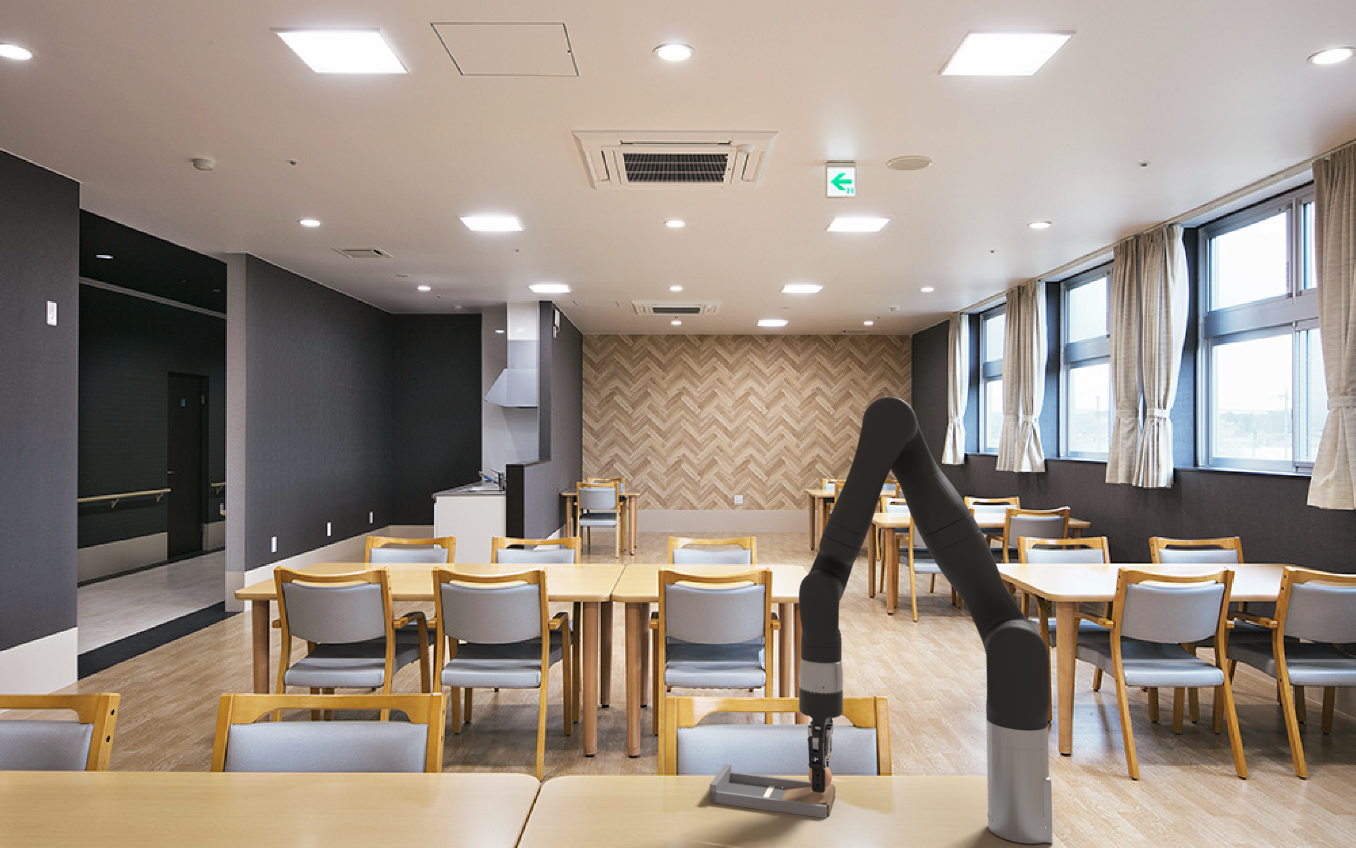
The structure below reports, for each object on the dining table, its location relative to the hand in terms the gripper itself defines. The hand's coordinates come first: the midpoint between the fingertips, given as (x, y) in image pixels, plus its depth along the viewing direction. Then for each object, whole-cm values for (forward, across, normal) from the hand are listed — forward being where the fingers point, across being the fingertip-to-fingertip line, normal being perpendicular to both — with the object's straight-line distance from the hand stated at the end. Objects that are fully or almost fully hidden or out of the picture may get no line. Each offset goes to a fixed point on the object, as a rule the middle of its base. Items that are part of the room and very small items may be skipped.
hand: (820, 786), depth 139 cm
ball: (-2, 0, 0) cm, 2 cm away
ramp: (+3, 0, +2) cm, 4 cm away
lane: (+3, 0, +8) cm, 9 cm away
